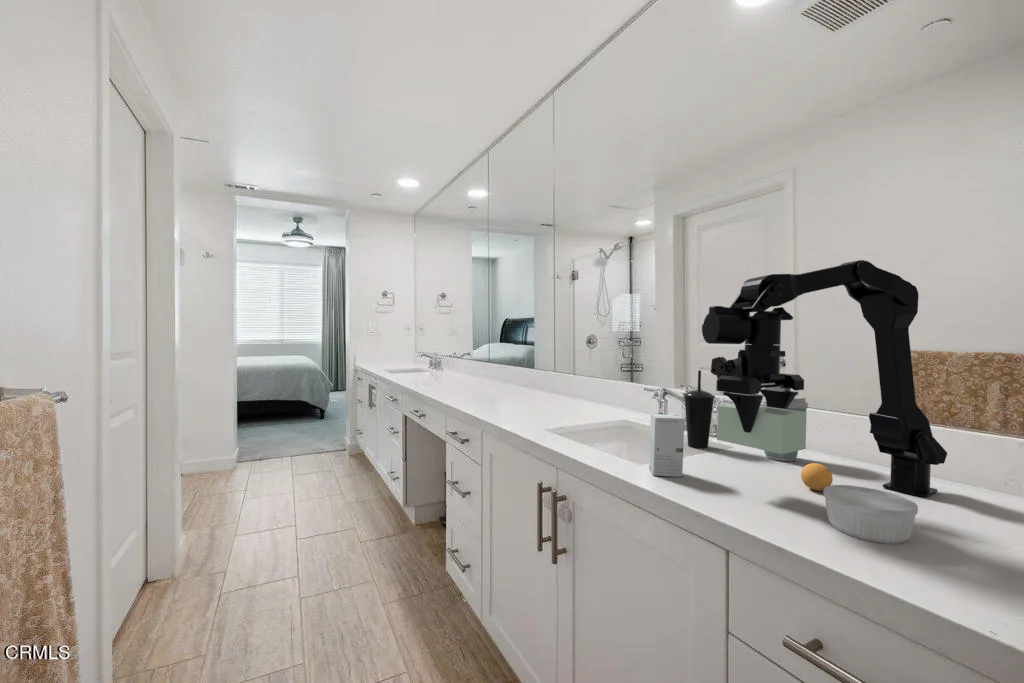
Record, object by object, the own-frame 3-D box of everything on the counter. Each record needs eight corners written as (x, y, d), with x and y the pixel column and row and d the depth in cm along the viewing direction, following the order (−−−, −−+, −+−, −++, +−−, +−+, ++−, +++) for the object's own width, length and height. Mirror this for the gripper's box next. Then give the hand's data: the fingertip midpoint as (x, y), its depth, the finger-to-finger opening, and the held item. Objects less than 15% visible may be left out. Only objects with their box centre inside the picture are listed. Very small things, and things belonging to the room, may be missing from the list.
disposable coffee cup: (748, 457, 109) (750, 395, 109) (765, 450, 117) (766, 391, 117) (799, 466, 102) (800, 400, 101) (813, 458, 109) (814, 396, 109)
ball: (808, 484, 90) (809, 458, 89) (837, 491, 85) (838, 465, 85) (795, 488, 87) (795, 462, 87) (824, 496, 83) (824, 468, 83)
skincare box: (653, 476, 93) (654, 417, 93) (648, 469, 97) (649, 413, 97) (684, 477, 93) (685, 418, 92) (677, 470, 97) (678, 414, 97)
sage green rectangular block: (740, 435, 90) (741, 403, 90) (805, 448, 80) (806, 412, 80) (716, 439, 86) (717, 405, 86) (781, 454, 76) (782, 415, 76)
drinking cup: (717, 451, 115) (718, 372, 115) (685, 449, 116) (686, 371, 116) (710, 444, 122) (711, 370, 122) (680, 442, 124) (681, 369, 124)
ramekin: (889, 520, 72) (890, 487, 72) (937, 552, 61) (938, 514, 61) (810, 513, 75) (811, 481, 75) (843, 543, 64) (844, 505, 64)
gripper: (749, 344, 95) (747, 418, 95) (691, 343, 85) (689, 426, 85) (806, 345, 85) (804, 428, 85) (749, 345, 75) (746, 438, 76)
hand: (760, 430), depth 83 cm, fingers closed on sage green rectangular block, 8 cm apart
